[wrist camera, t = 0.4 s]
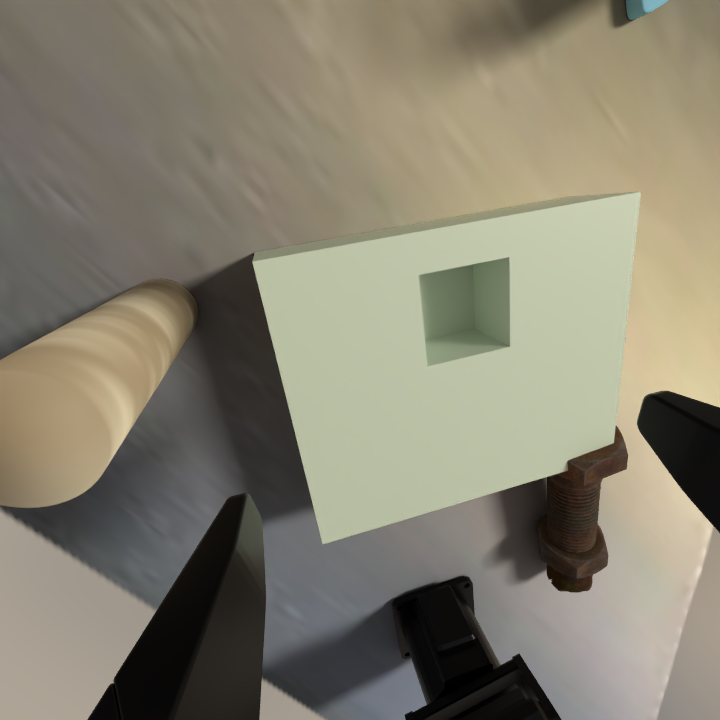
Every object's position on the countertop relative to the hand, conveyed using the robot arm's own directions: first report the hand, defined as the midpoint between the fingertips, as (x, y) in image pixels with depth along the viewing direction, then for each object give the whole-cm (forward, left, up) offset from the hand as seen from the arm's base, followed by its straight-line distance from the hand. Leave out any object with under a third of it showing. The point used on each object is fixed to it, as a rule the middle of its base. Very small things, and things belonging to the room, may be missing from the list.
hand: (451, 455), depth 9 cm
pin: (+2, +9, -14) cm, 17 cm away
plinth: (-4, -5, -14) cm, 15 cm away
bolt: (-17, -14, -14) cm, 26 cm away
